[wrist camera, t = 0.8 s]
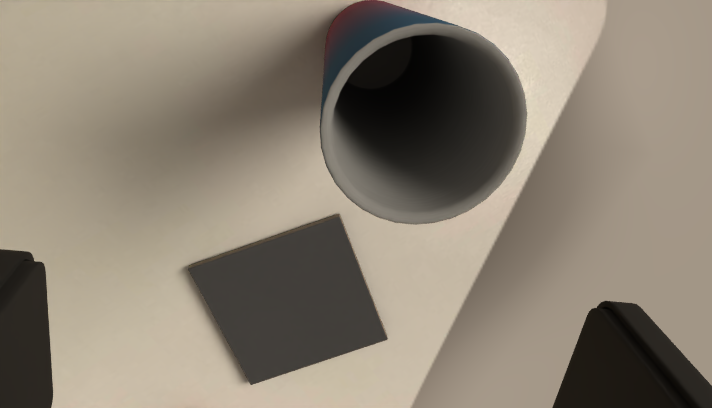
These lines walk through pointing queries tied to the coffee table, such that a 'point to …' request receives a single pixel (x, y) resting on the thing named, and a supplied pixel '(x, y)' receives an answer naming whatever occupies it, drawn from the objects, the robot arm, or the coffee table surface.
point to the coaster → (290, 299)
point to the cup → (417, 113)
